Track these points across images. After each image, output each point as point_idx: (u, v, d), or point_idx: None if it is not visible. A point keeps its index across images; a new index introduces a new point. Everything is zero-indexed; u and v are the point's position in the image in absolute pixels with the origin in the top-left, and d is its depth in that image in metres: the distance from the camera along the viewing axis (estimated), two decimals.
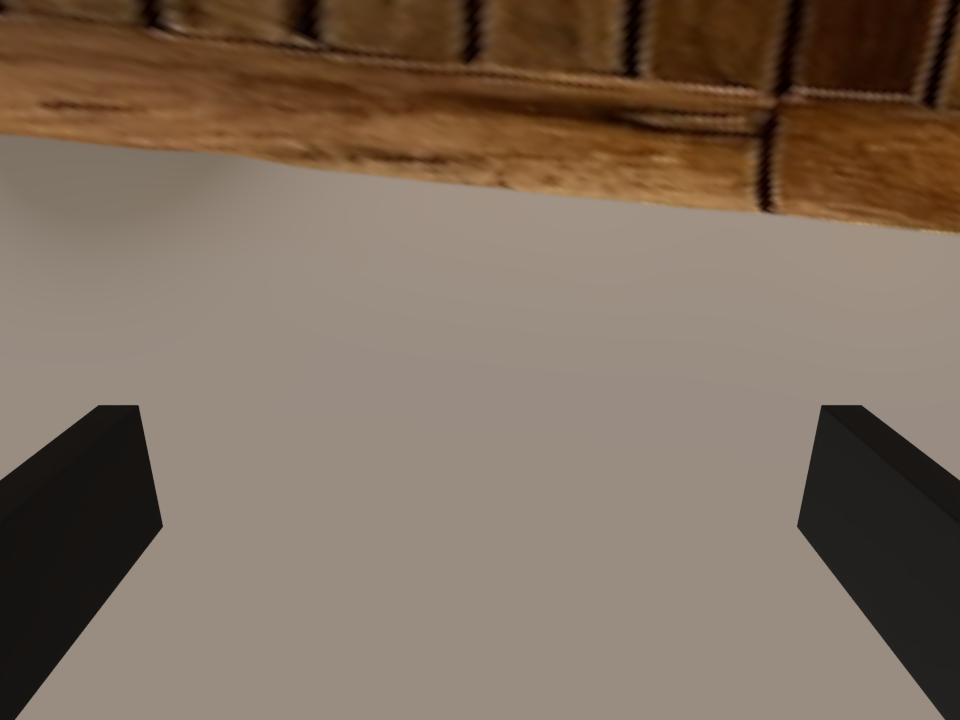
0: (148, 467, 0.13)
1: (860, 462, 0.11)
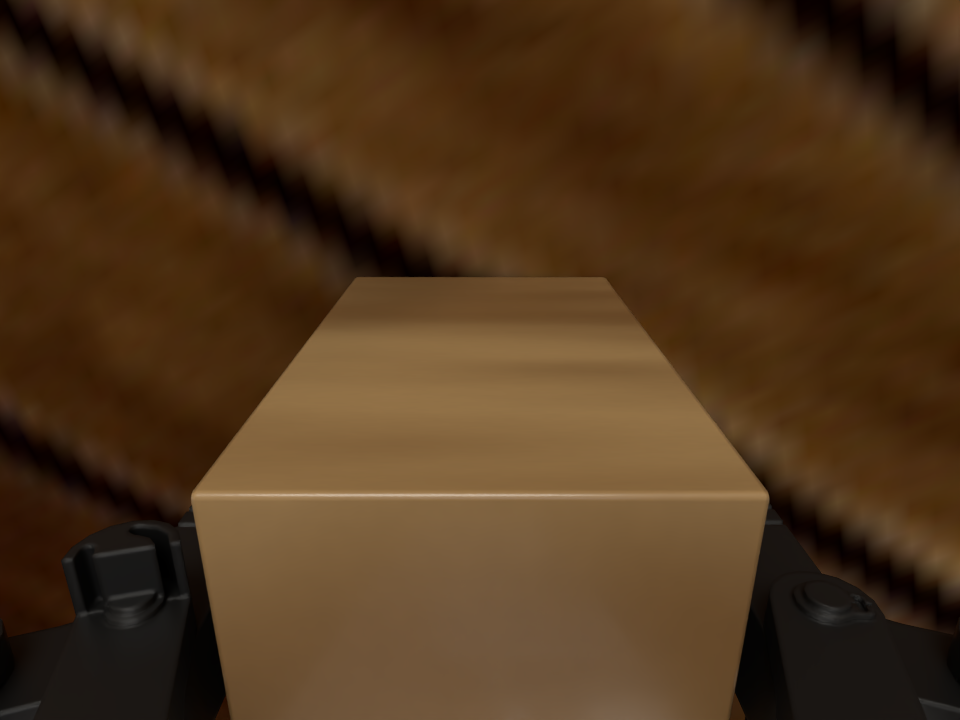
0: None
1: None
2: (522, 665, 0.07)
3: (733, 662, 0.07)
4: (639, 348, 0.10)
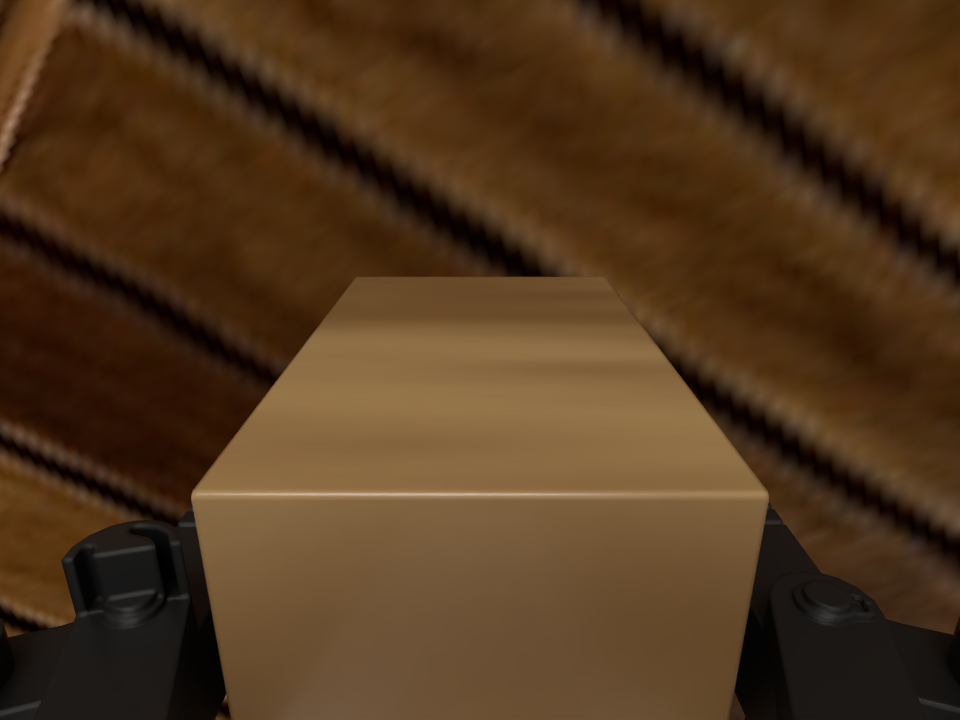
0: None
1: None
2: (522, 663, 0.07)
3: (733, 661, 0.07)
4: (639, 348, 0.10)
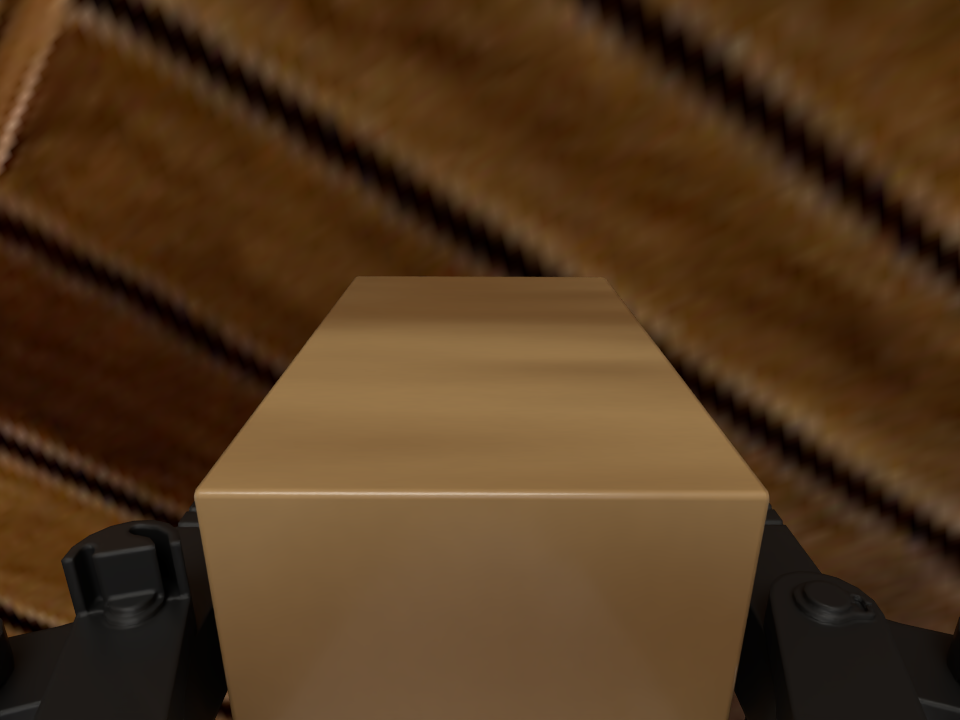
0: None
1: None
2: (522, 662, 0.07)
3: (733, 660, 0.07)
4: (639, 348, 0.10)
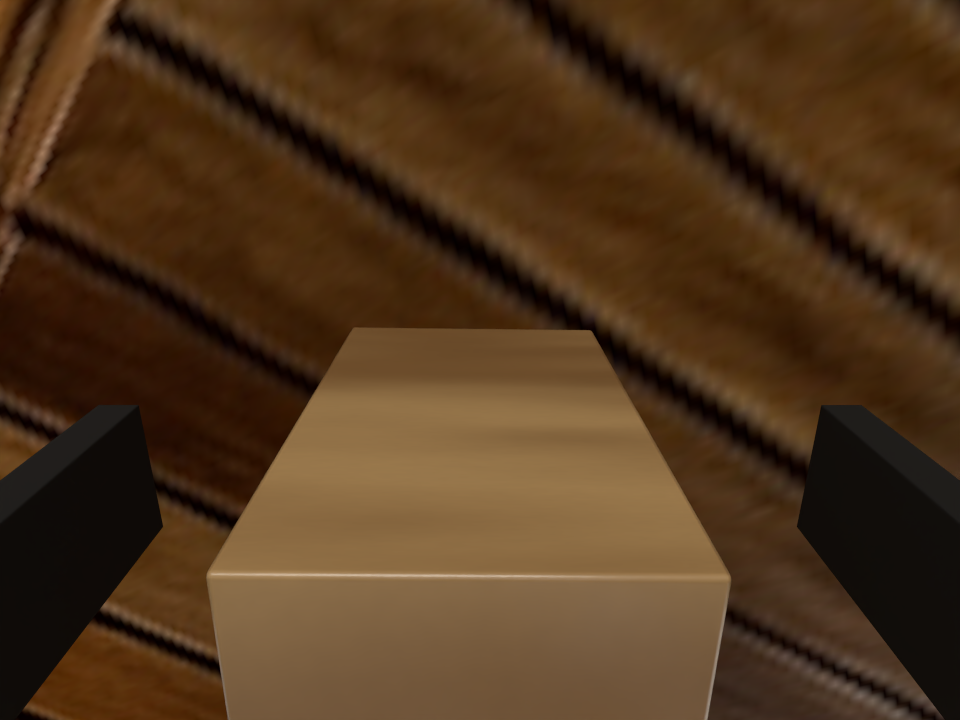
0: (148, 466, 0.13)
1: (860, 462, 0.11)
2: None
3: None
4: (620, 414, 0.10)
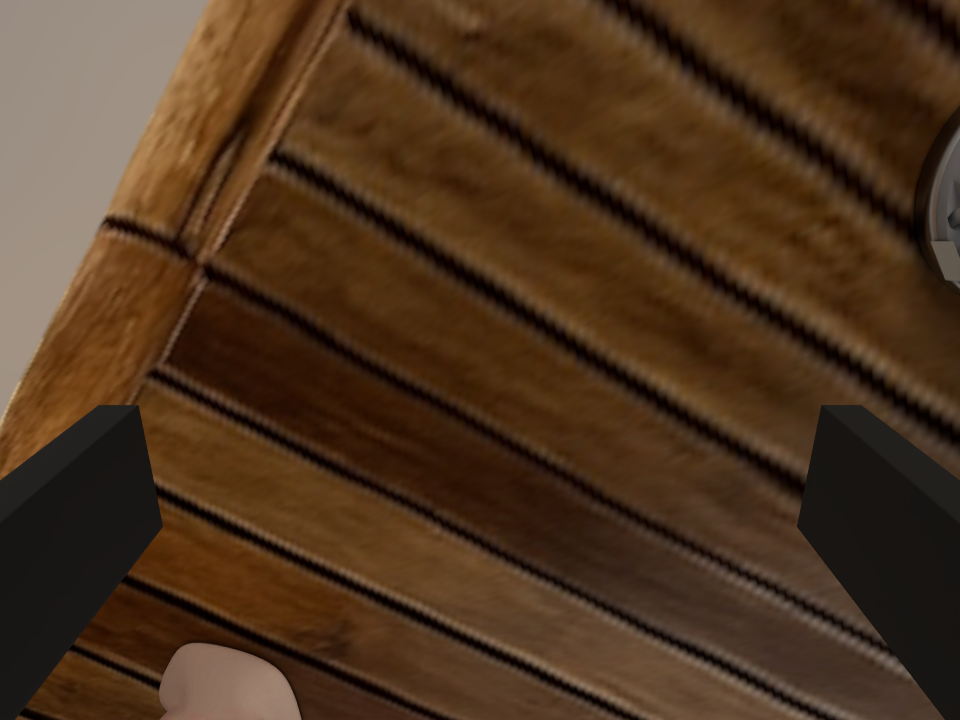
0: (148, 466, 0.13)
1: (860, 462, 0.11)
2: None
3: None
4: None
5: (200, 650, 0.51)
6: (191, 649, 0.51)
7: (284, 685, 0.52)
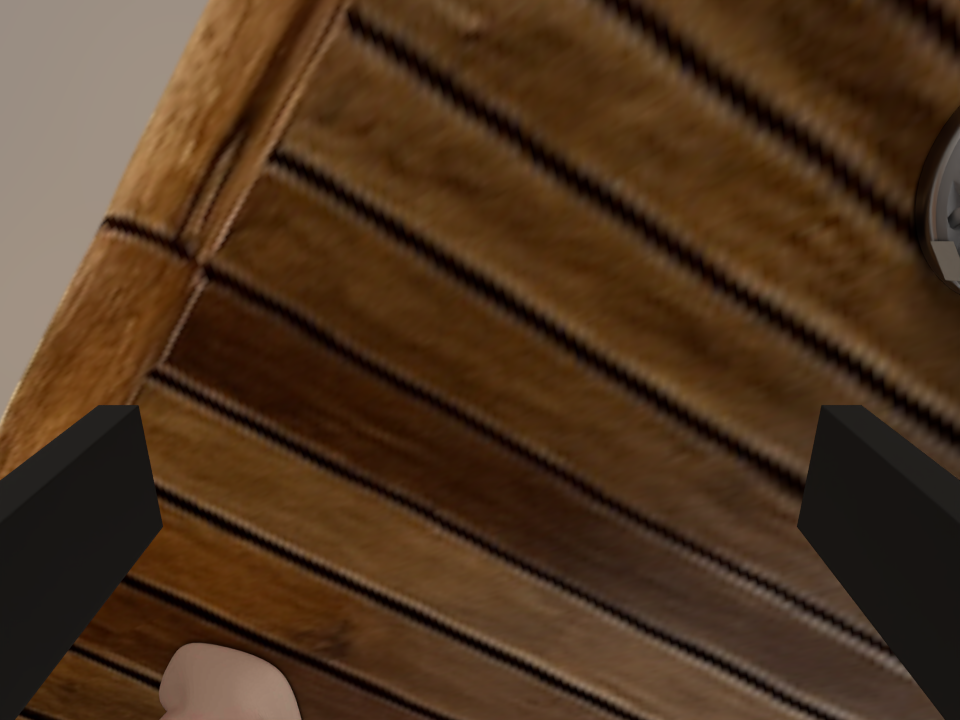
0: (148, 466, 0.13)
1: (860, 462, 0.11)
2: None
3: None
4: None
5: (200, 650, 0.51)
6: (191, 649, 0.51)
7: (284, 685, 0.52)
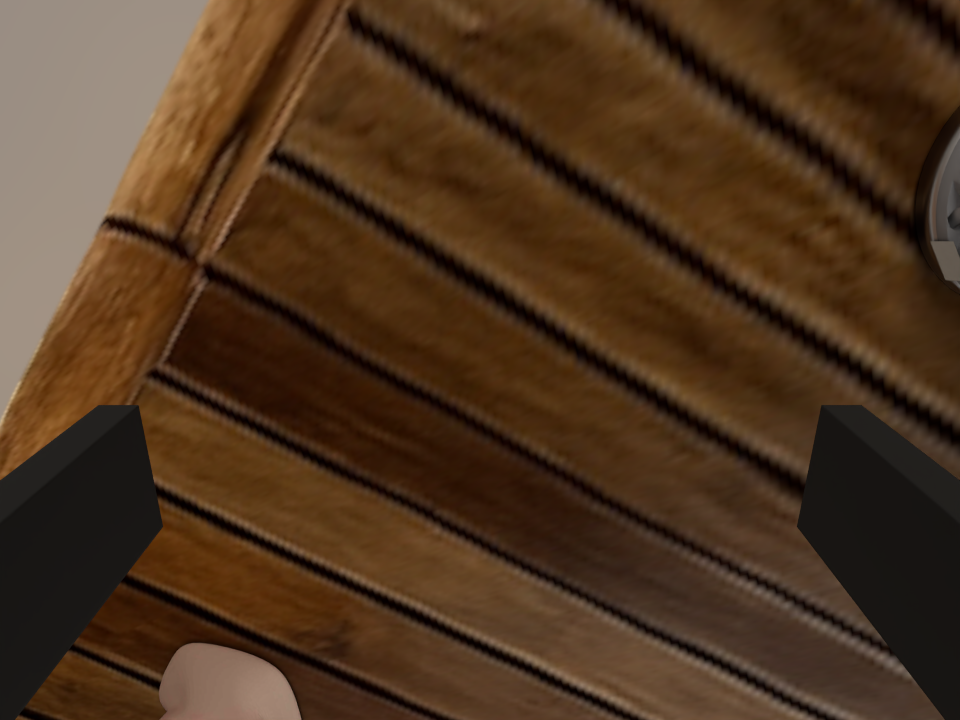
0: (148, 466, 0.13)
1: (860, 462, 0.11)
2: None
3: None
4: None
5: (200, 650, 0.51)
6: (191, 649, 0.51)
7: (284, 685, 0.52)
